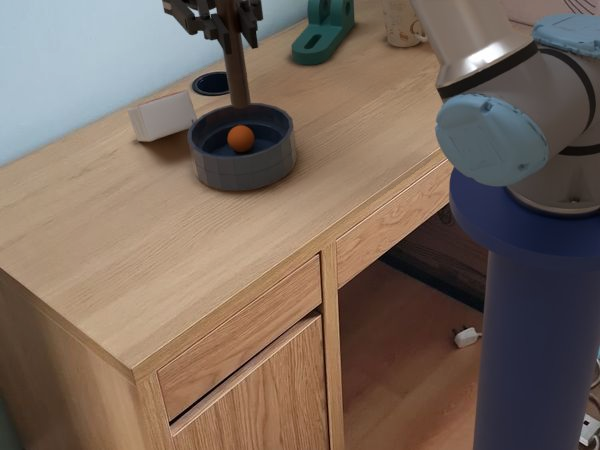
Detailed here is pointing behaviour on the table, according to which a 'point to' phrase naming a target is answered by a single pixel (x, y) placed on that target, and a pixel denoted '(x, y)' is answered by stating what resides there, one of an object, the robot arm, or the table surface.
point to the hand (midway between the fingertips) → (240, 40)
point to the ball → (241, 138)
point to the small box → (162, 116)
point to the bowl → (242, 165)
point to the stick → (234, 54)
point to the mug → (402, 23)
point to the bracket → (323, 30)
